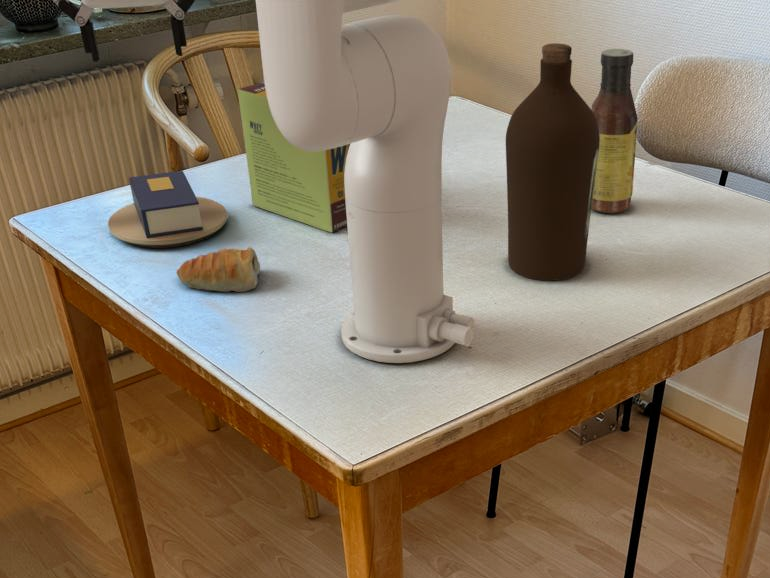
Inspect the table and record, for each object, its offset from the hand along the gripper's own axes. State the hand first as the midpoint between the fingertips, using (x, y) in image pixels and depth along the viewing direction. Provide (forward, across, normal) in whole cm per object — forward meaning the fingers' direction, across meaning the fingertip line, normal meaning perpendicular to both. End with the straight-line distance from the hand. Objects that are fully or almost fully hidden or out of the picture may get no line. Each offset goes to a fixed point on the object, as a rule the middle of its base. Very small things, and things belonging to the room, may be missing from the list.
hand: (138, 56), depth 121 cm
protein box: (+21, +20, -1) cm, 29 cm away
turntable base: (+20, 0, -3) cm, 21 cm away
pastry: (+21, +5, -21) cm, 30 cm away
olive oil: (+21, +44, -27) cm, 55 cm away
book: (+20, 0, -3) cm, 21 cm away
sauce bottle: (+21, +58, -12) cm, 63 cm away
